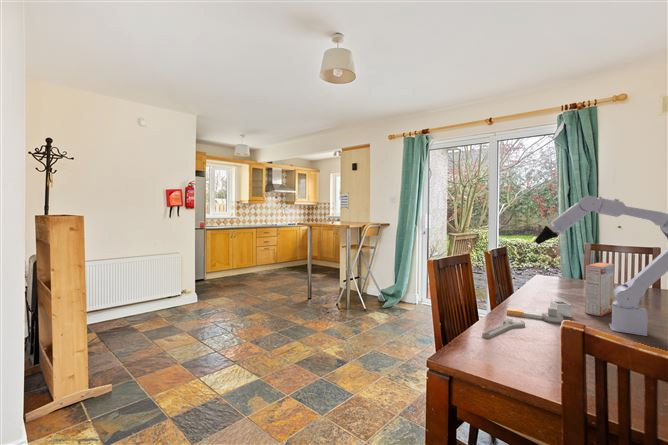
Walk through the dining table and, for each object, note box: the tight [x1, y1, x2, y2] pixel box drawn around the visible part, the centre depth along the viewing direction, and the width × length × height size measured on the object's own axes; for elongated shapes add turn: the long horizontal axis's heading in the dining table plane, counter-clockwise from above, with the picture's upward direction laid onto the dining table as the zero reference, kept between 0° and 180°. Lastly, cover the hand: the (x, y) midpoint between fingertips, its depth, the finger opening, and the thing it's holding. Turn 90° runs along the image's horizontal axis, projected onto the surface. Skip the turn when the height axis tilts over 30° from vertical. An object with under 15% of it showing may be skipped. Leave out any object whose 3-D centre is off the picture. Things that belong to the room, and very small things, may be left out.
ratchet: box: [506, 306, 564, 325], centre depth 133 cm, size 20×7×5 cm, turn 57°
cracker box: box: [584, 262, 615, 317], centre depth 141 cm, size 14×6×21 cm, turn 123°
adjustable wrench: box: [481, 318, 526, 339], centre depth 120 cm, size 25×6×2 cm, turn 122°
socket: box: [549, 300, 572, 318], centre depth 137 cm, size 5×5×5 cm
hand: (537, 242), depth 134 cm, fingers open, 7 cm apart
